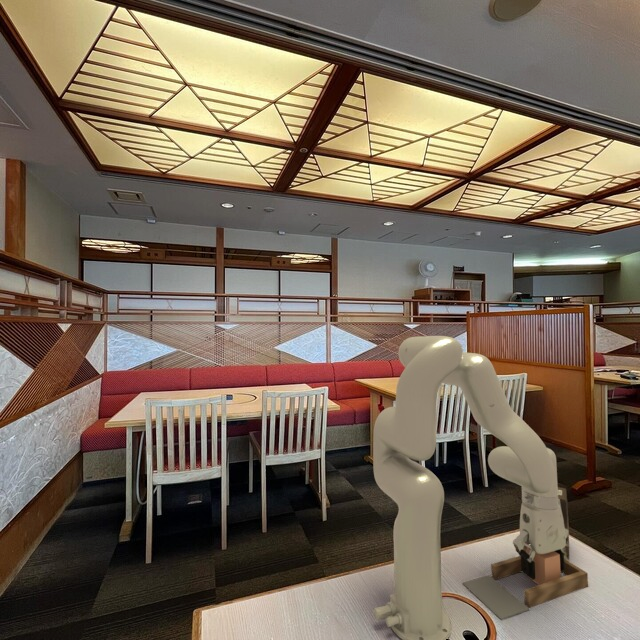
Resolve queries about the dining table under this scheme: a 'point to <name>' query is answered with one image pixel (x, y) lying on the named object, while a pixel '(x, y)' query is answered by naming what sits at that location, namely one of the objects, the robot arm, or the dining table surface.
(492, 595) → the mat
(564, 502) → the coffee box
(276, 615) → the dining table surface
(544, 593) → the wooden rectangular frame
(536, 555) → the block
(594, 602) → the dining table surface
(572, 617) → the dining table surface
